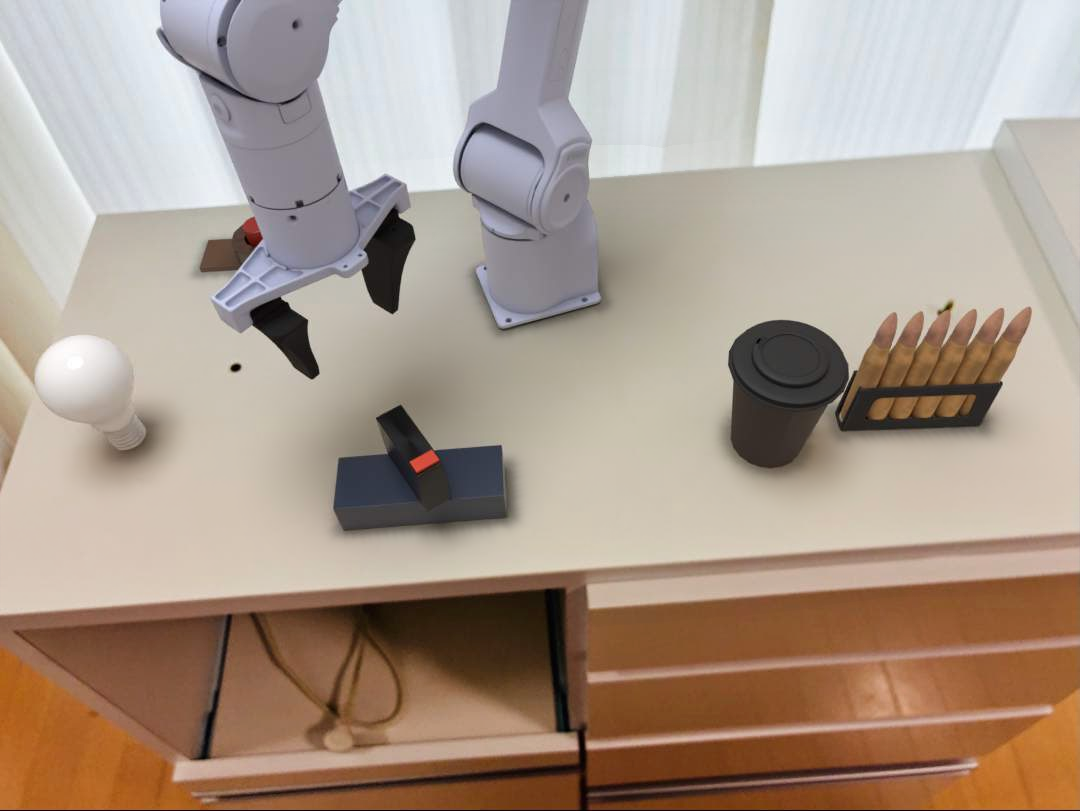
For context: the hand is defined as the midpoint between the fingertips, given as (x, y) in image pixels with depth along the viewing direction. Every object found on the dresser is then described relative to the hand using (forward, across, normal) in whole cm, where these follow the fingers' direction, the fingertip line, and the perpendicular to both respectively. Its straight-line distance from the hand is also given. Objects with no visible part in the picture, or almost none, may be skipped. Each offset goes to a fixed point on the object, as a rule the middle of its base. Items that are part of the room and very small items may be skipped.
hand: (347, 337), depth 58 cm
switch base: (+10, -3, -8) cm, 13 cm away
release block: (+10, +8, +23) cm, 26 cm away
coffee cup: (+10, +17, -26) cm, 32 cm away
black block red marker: (+7, -3, -8) cm, 11 cm away
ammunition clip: (+10, +25, -33) cm, 43 cm away
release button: (+8, +7, +23) cm, 25 cm away
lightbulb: (+10, -13, +14) cm, 22 cm away
